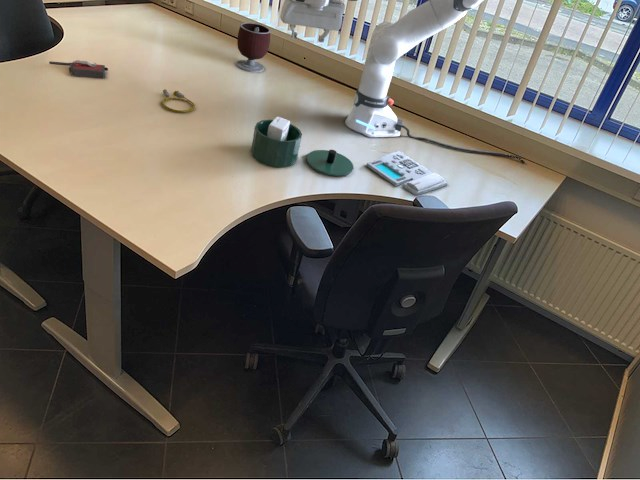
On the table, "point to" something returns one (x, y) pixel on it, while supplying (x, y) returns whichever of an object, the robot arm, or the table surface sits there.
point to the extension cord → (176, 99)
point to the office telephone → (407, 173)
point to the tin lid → (330, 162)
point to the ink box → (278, 129)
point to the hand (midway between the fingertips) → (307, 40)
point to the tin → (275, 146)
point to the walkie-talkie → (84, 69)
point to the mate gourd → (252, 45)
